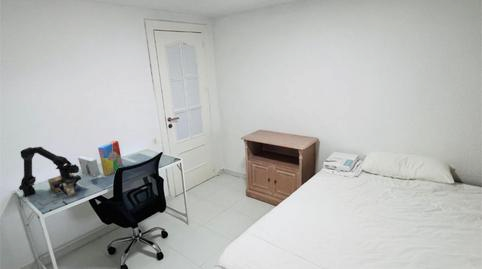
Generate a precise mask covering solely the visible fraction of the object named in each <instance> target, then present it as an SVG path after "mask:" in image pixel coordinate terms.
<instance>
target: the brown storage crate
mask: <svg viewBox="0 0 482 269" xmlns="http://www.w3.org/2000/svg"><path fill="white" fill-rule="evenodd" d="M69 174H70V176H71V177H73V176H75V175H74V173H69ZM47 180H48V184H49V187H50V191H52V192H53V193H54V194H55V193H59V192H61V191H62V190H61V189H60V188H53V187H52V183H55V182H62V179H61V176H60V175H58V176H55V177H52V178H48V179H47ZM61 186H62V187H63V184H61ZM71 186H72V187H73V183H72V184H71ZM73 188H74V187H73Z"/></svg>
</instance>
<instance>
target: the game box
mask: <svg viewBox="0 0 482 269" xmlns="http://www.w3.org/2000/svg"><path fill="white" fill-rule="evenodd" d="M97 149H98V154H99V158H100V163H101V169H102V173H103V176H110V175H111V174H113V173H115V172H116V171H117V170H116V169H117V168H119V167H121V168H123V166H124V165H123V160H122V156H121V150H120V144H119V141H118V140H113V141H110V142H108V143H106V144H103V145H101V146H99V147H97ZM115 170H116V171H115Z"/></svg>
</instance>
